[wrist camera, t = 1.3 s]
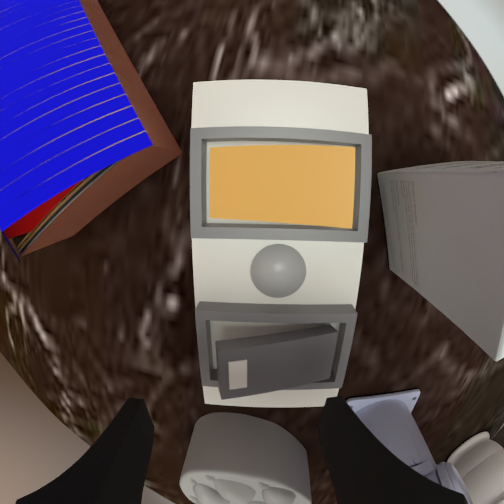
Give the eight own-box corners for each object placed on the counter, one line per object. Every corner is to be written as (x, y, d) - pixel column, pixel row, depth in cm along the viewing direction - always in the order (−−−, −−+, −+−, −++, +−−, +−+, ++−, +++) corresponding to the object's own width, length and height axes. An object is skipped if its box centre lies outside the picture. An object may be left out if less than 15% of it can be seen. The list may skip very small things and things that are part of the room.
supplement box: (461, 251, 19) (573, 312, 6) (386, 270, 19) (492, 370, 7) (454, 159, 17) (584, 164, 5) (374, 168, 18) (511, 168, 5)
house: (74, 240, 20) (-33, 289, 9) (13, 77, 16) (-67, 61, 5) (190, 154, 18) (92, 130, 7) (99, -5, 14) (30, -61, 3)
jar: (501, 424, 25) (537, 479, 10) (462, 465, 27) (488, 520, 13) (473, 425, 24) (514, 495, 10) (428, 469, 27) (455, 537, 12)
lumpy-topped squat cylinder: (243, 480, 27) (238, 534, 19) (169, 427, 25) (146, 491, 16) (318, 456, 25) (326, 518, 17) (250, 395, 23) (243, 475, 14)
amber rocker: (352, 225, 13) (351, 228, 12) (218, 215, 15) (209, 218, 14) (355, 149, 12) (355, 147, 11) (218, 149, 14) (209, 147, 14)
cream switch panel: (328, 382, 22) (337, 416, 18) (211, 380, 22) (201, 414, 18) (352, 100, 16) (374, 82, 12) (203, 95, 17) (187, 75, 13)
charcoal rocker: (322, 369, 18) (330, 378, 17) (218, 388, 16) (221, 400, 15) (330, 324, 17) (339, 332, 16) (215, 340, 15) (218, 351, 14)
